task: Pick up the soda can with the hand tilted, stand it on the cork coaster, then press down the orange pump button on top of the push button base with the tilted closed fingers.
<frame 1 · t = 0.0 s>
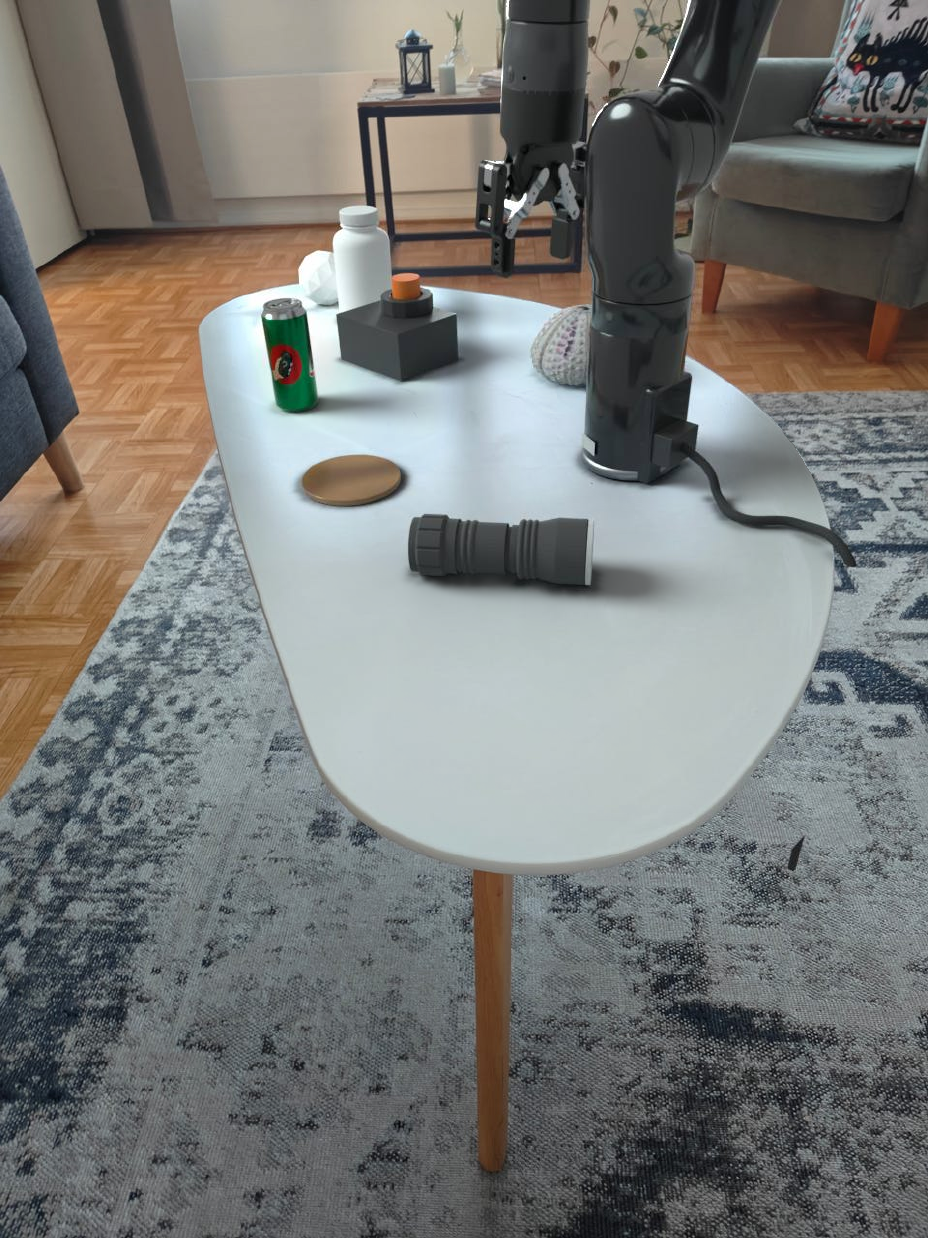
hand: (532, 266, 90), 17 cm above the table, tool pointing down, fingers open, 8 cm apart
push button base: (399, 359, 118), on the table
flashlight: (504, 576, 77), on the table
geometric ball: (327, 304, 139), on the table
coaster: (351, 481, 91), on the table
pill bottle: (368, 320, 132), on the table
sea urchin shell: (582, 373, 113), on the table
pump button: (406, 287, 114), point 9 cm above the table, slide at 0.1 cm
soda can: (298, 407, 107), on the table
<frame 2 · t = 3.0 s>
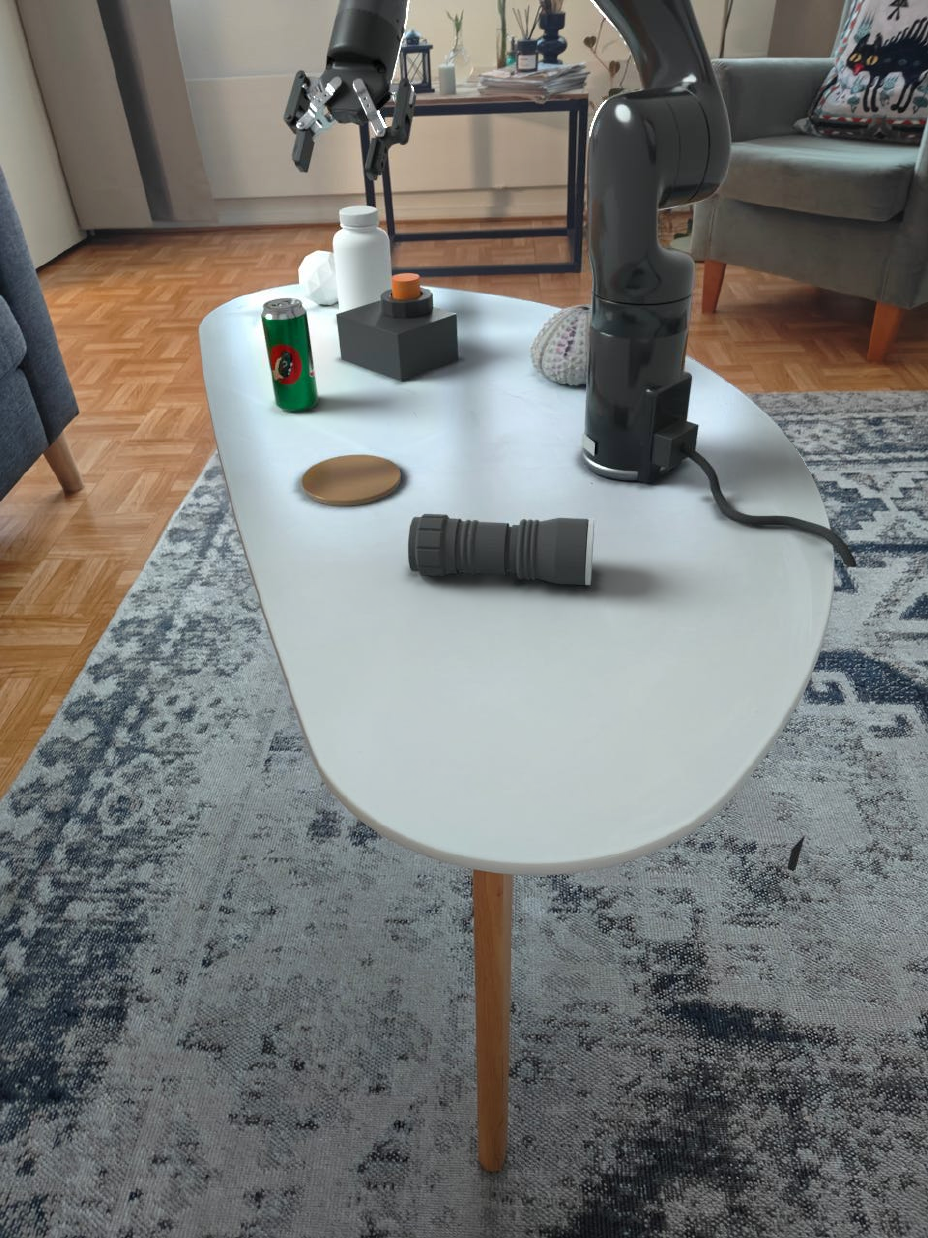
hand: (335, 172, 99), 24 cm above the table, tool tilted 40°, fingers open, 8 cm apart
nothing on the table moved.
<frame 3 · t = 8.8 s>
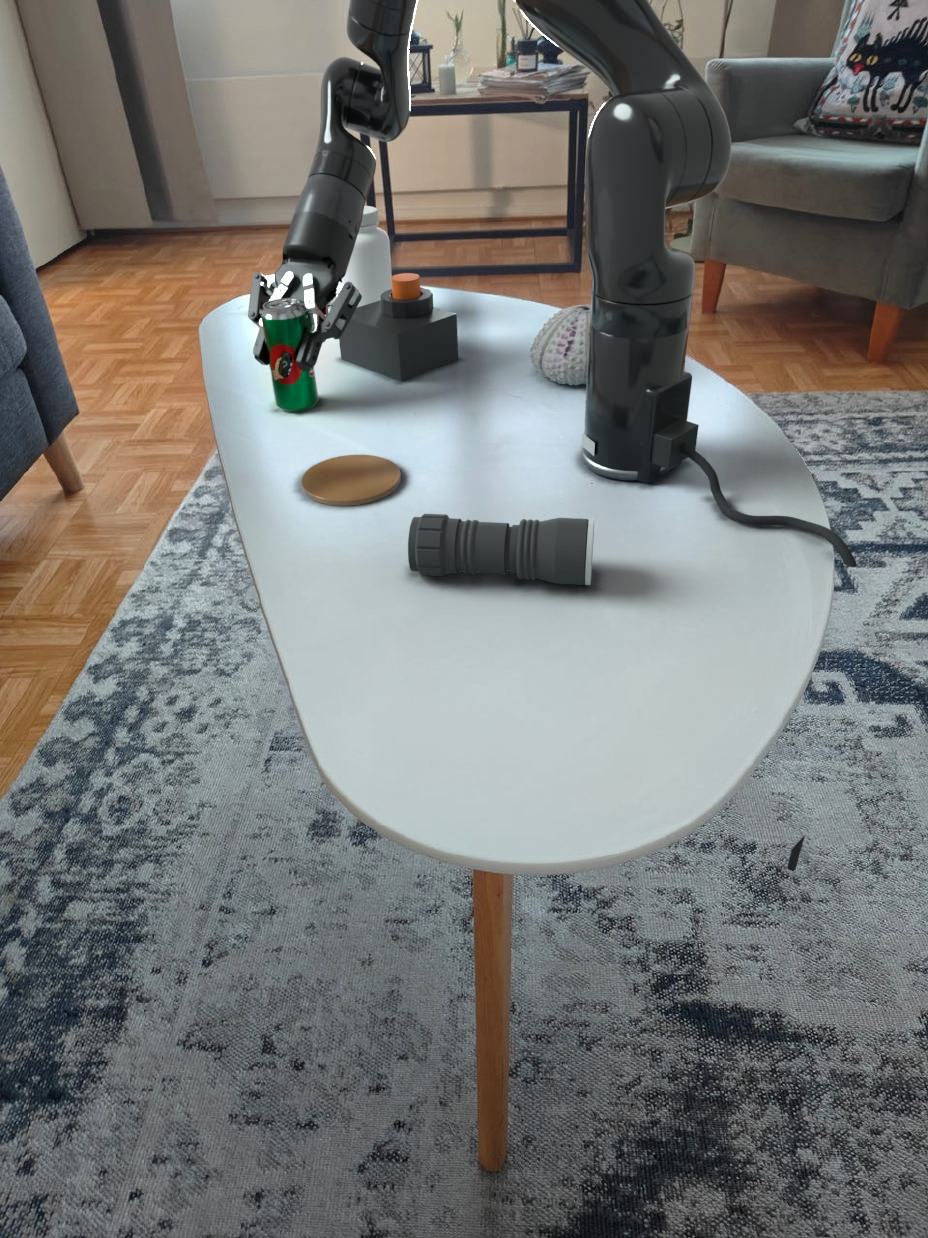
hand: (281, 364, 102), 6 cm above the table, tool tilted 45°, fingers closed on soda can, 5 cm apart
soda can: (298, 407, 107), on the table, touching gripper
everything else where it was.
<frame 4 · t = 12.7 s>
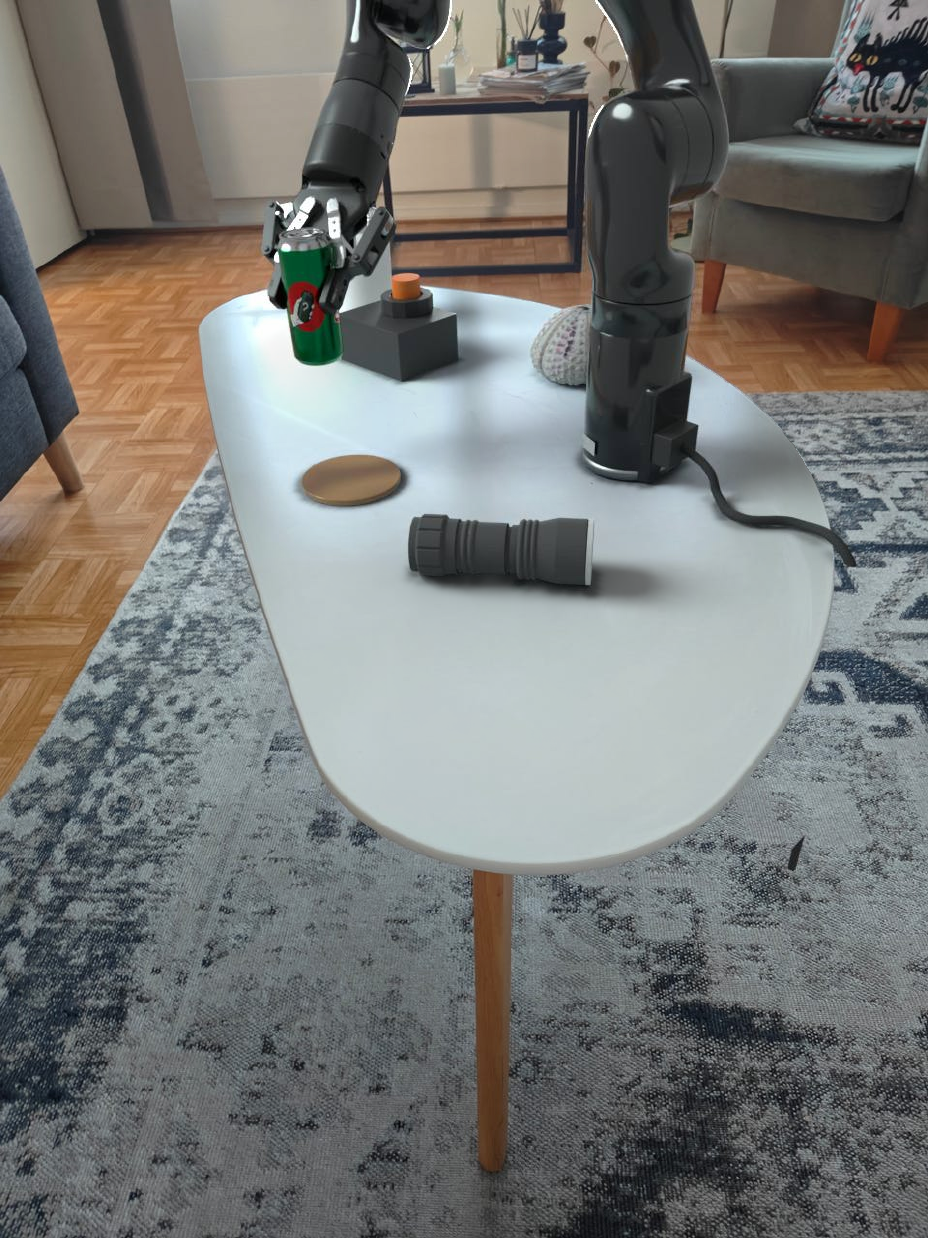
hand: (301, 307, 86), 16 cm above the table, tool tilted 45°, fingers closed on soda can, 5 cm apart
soda can: (320, 360, 91), point 10 cm above the table, touching gripper
everything else where it was.
when the fingers open (6 cm above the table, at t = 16.9 s): soda can stays where it is, resting on coaster.
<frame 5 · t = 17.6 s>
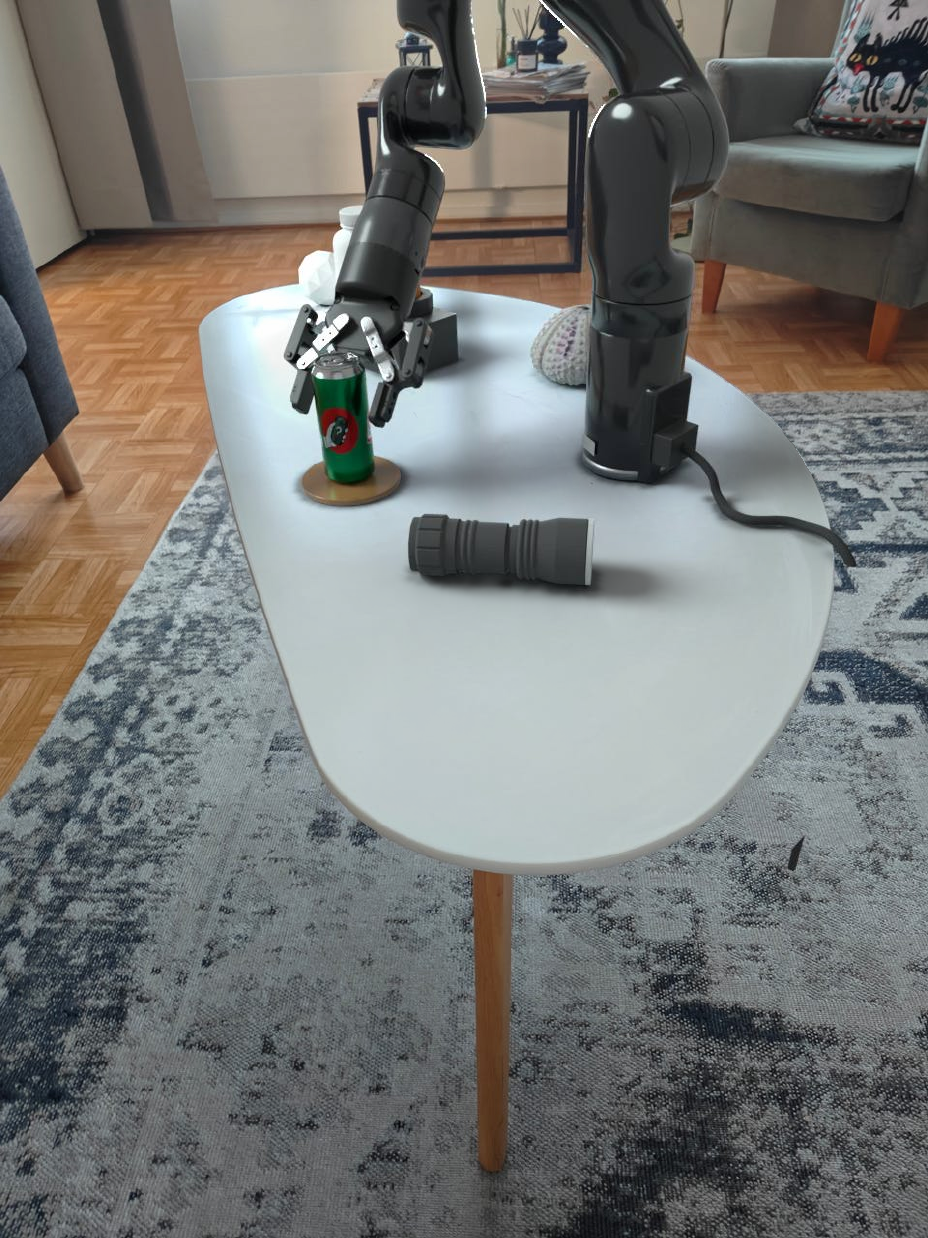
hand: (336, 417, 86), 7 cm above the table, tool tilted 45°, fingers open, 8 cm apart
soda can: (350, 476, 91), resting on coaster
everything else where it was.
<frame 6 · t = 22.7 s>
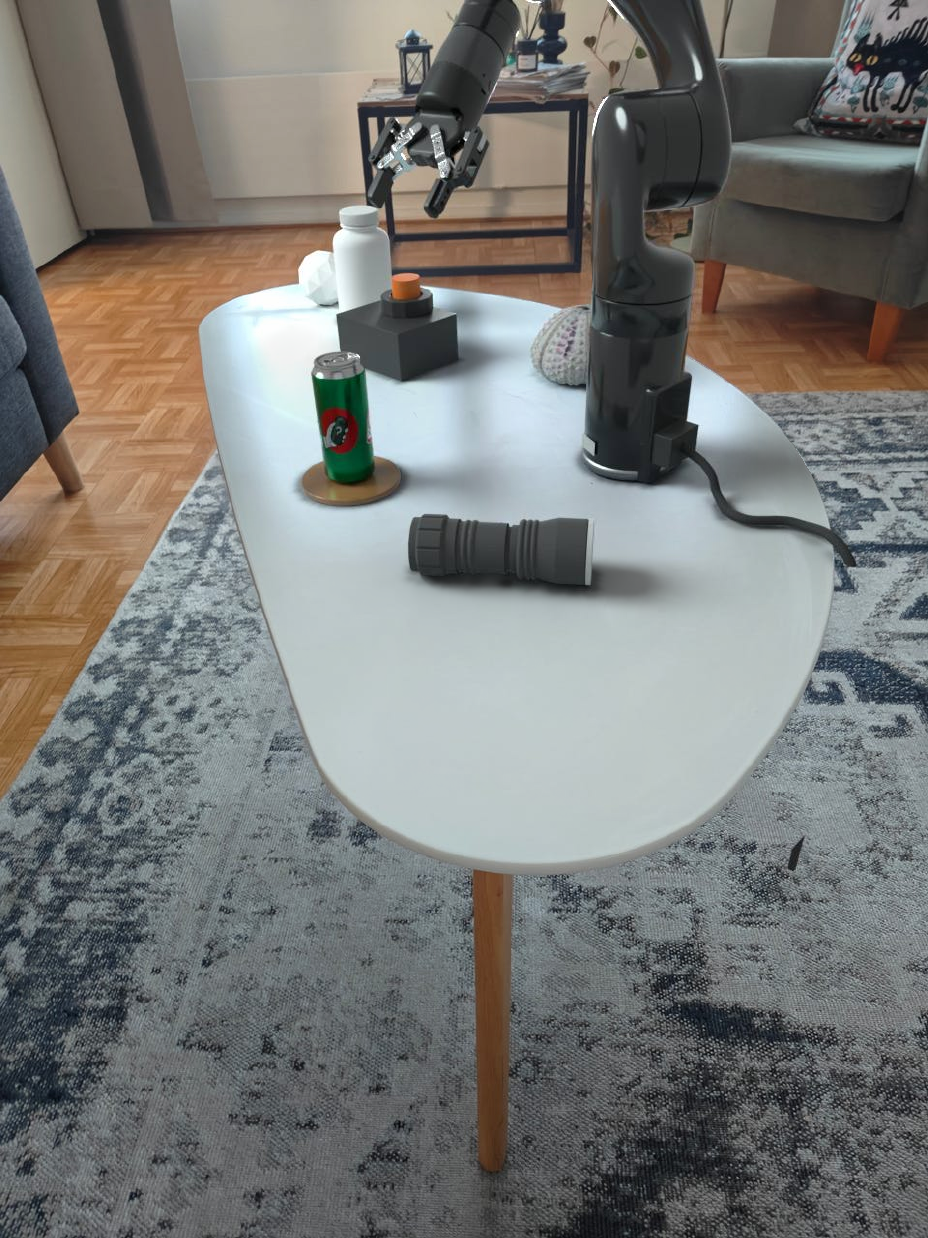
hand: (401, 208, 104), 19 cm above the table, tool tilted 45°, fingers open, 8 cm apart
nothing on the table moved.
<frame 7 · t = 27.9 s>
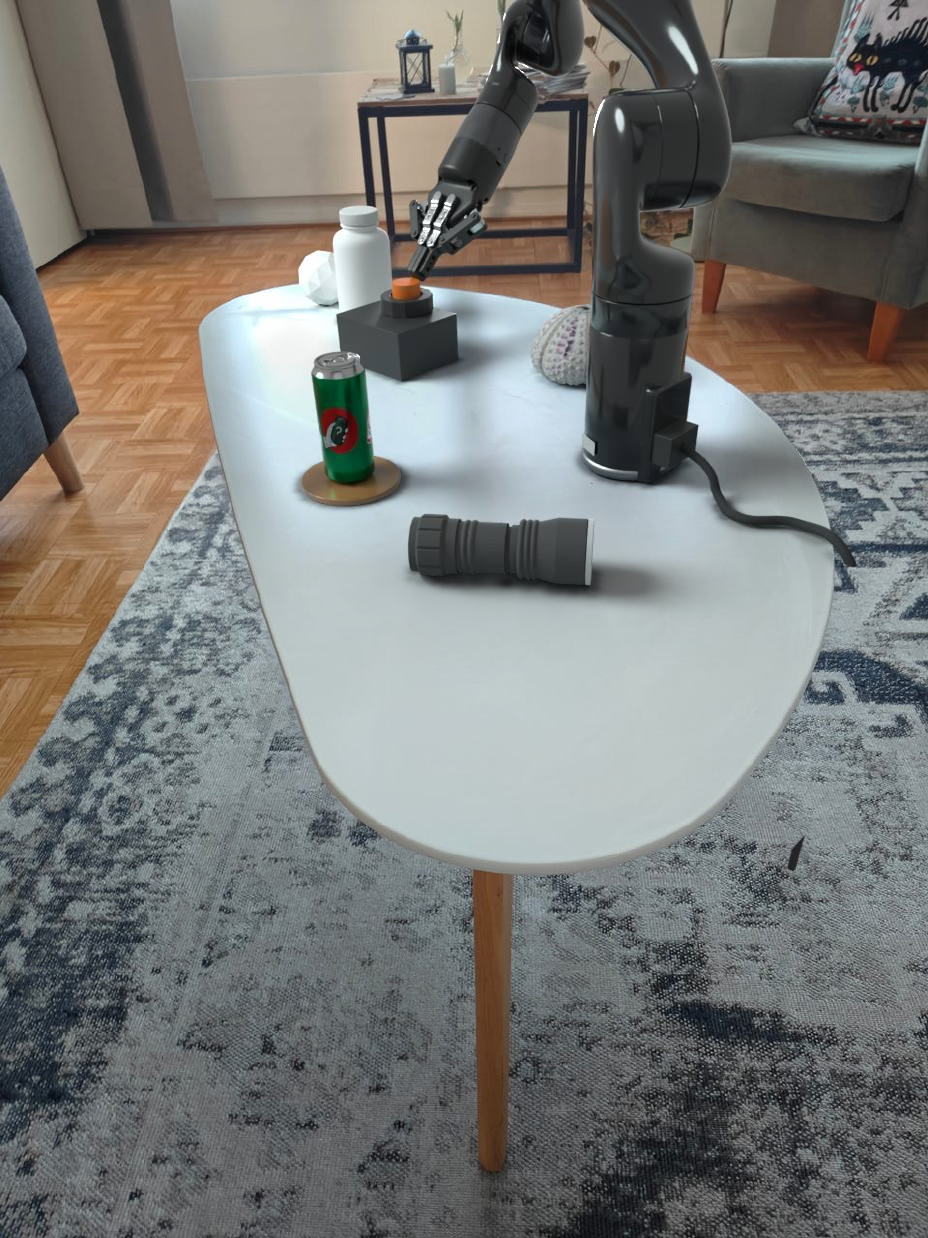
hand: (415, 277, 114), 10 cm above the table, tool tilted 45°, fingers closed
pump button: (406, 291, 114), point 8 cm above the table, slide at -0.5 cm, touching gripper
everything else where it was.
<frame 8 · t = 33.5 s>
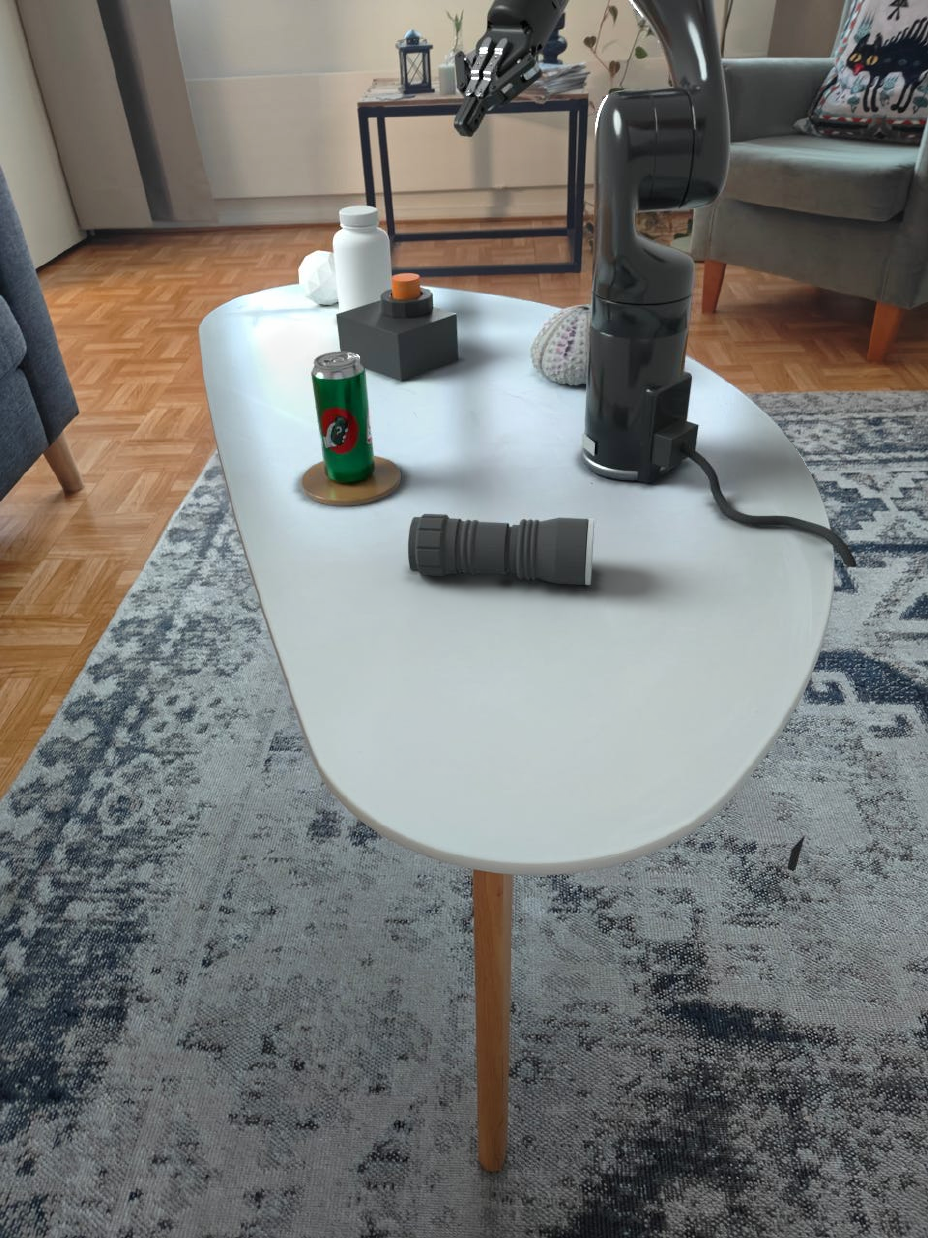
hand: (462, 131, 105), 26 cm above the table, tool tilted 45°, fingers closed
pump button: (406, 287, 114), point 9 cm above the table, slide at 0.1 cm
everything else where it was.
at the end: soda can 0.4 cm off-centre on the coaster, point 0.4 cm above the coaster's base; pump button pushed in 1.5 cm at the most during the clip, back to where it started at the end; pump button slide at 0.1 cm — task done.
